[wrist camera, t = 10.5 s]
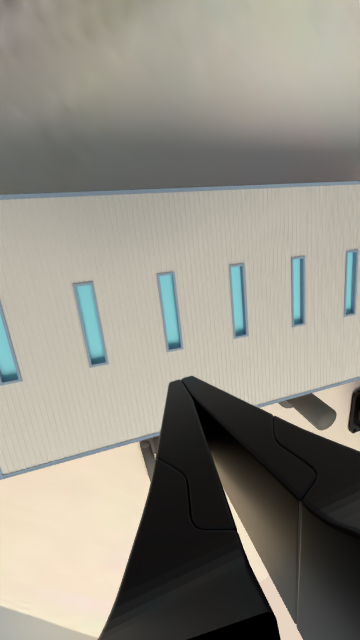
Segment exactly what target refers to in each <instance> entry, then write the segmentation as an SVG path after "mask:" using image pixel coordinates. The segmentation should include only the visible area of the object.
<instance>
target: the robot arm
mask: <svg viewBox="0 0 360 640" xmlns="http://www.w3.org/2000/svg"><path fill="white" fill-rule="evenodd" d="M349 431H350V432H352V433H355V432H358V431H360V391H359V392H356V393H355V394H354V395H353V401H352V409H351V417H350V425H349ZM223 488H224V489H225V491H226V493H227V495H228V497H229V499H230V501H231V503H232V505H233V507H234V509H235V510H236V512H237V514H238V516H239V518H240V520H241V522H242V524H243V526H244V528H245V529H246V531H247V533H248V535H249V537H250V539H251V541H252V543H253V545H254V547H255V549H256V550H257V552H258V554H259V556H260V558H261V560H262V562H263V564H264V566H265V568H266V569H267V571H268V573H269V575H270V577H271V579H272V581H273V583H274V584H275V586H276V589H277V590H278V592H279V594H280V596H281V598H282V600H283V602H284V604H285V605H286V608H287V609H288V611H289V613H290V615H291V617H292V619H293V621H294V623H295V624H297V629H298V631H299V632H300V634H301V636H302V638H303V640H360V451H357V450H355V449H352V448H349V447H347V446H344V445H342V444H339V443H337V442H334V441H331V440H329V439H326V438H324V437H321V436H319V435H316V434H314V433H312V432H309V431H307V430H304V429H302V428H300V427H298V426H296V425H293V424H291V423H289V422H287V421H285V420H283V419H281V418H279V417H277V416H273V415H272V414H270V413H268V412H266V411H264V410H262V409H260V408H258V407H256V406H254V405H252V404H250V403H248V402H246V401H244V400H241V399H239V398H237V397H235V396H233V395H231V394H229V393H227V392H225V391H223V390H221V389H219V388H217V387H215V386H213V385H211V384H209V383H207V382H205V381H202V380H200V379H198V378H196V377H194V376H188V377H185V378H182V379H181V380H180V379H178V380H175V381H172V382H170V383H169V385H168V391H167V396H166V402H165V408H164V413H163V419H162V425H161V430H160V436H159V442H158V447H157V453H156V460H155V464H154V469H153V474H152V479H151V484H150V488H149V493H148V496H147V500H146V504H145V507H144V511H143V514H142V518H141V521H140V524H139V527H138V530H137V534H136V537H135V540H134V543H133V546H132V550H131V553H130V556H129V559H128V562H127V566H126V569H125V572H124V575H123V579H122V582H121V585H120V588H119V591H118V594H117V597H116V600H115V602H114V605H113V608H112V610H111V613H110V615H109V617H108V620H107V622H106V624H105V626H104V628H103V630H102V632H101V634H100V636H99V638H98V640H280V635H279V630H278V624H277V620H276V617H275V615H274V613H273V611H272V609H271V607H270V605H269V603H268V601H267V599H266V597H265V595H264V593H263V591H262V589H261V587H260V585H259V583H258V581H257V578H256V576H255V574H254V572H253V570H252V568H251V566H250V564H249V561H248V559H247V556H246V554H245V551H244V548H243V545H242V543H241V540H240V537H239V534H238V532H237V528H236V525H235V522H234V519H233V516H232V513H231V510H230V507H229V504H228V501H227V498H226V495H225V492H224V489H223Z"/></svg>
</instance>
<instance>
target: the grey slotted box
mask: <svg viewBox="0 0 360 640" xmlns="http://www.w3.org/2000/svg"><path fill="white" fill-rule="evenodd" d="M188 376H194V377H196V378H198V379H200V380H202V381H205V382H207V383H209V384H211V385H213V386H215V387H217V388H219V389H221V390H223V391H225V392H227V393H229V394H231V395H233V396H235V397H237V398H239V399H241V400H244V401H246V402H248V403H250V404H252V405H254V406H256V407H258V408H260V407H263V406H267V405H271V404H274V403H278V402H281V401H285V400H288V399H292V398H296V397H299V396H303V395H306V394H310V393H314V392H317V391H321V390H324V389H328V388H331V387H335V386H339V385H342V384H346V383H349V382H353V381H357V380H360V181H344V182H318V183H292V184H266V185H241V186H215V187H189V188H163V189H137V190H111V191H85V192H59V193H33V194H7V195H0V480H2V479H5V478H9V477H12V476H16V475H20V474H23V473H27V472H30V471H34V470H38V469H41V468H45V467H48V466H52V465H56V464H59V463H63V462H66V461H70V460H73V459H77V458H81V457H84V456H88V455H91V454H95V453H99V452H102V451H106V450H109V449H113V448H116V447H120V446H124V445H127V444H131V443H134V442H138V441H142V440H145V439H149V438H152V437H156V436H159V435H160V430H161V425H162V419H163V413H164V408H165V402H166V396H167V391H168V385H169V383H170V382H172V381H175V380H178V379H180V380H181V379H182V378H185V377H188Z"/></svg>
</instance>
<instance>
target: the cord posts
mask: <svg viewBox="0 0 360 640" xmlns="http://www.w3.org/2000/svg"><path fill="white" fill-rule="evenodd" d="M278 403H279V404H280V405H281V406H282V407H284V408H292V407H294V408H295V409H296V410H297V411H298V412H299V413H300V414H302V415H303V416H304V417H305V418H306V419H307V420H308V421H309V422H310V423H311V424H312V425H314V426H315V427H316V428H317V429H318V430H325V429H327V428H329V427H330V426H331V425H332V424H333V423H334V421H335V419H336V412H335V410H333V409H332V408H331V407H329V406H328V405H327V404H325V403H324V402H323V401H321V400H320V399H319V398H317V397H316V396H315V395H314V394H312V393H310V394H306V395H303V396H299V397H296V398H292V399H288V400H285V401H281V402H278ZM159 436H160V435H159ZM159 436H156V437H152V438H149V439H145V440H142V441H141V442H140V447H141V450H142V454H143V457H144V461H145V464H146V468H147V471H148V474H149V478H150V481H151V479H152V474H153V469H154V464H155V458H154V455H153V453H155V454H156V453H157V447H158V442H159Z"/></svg>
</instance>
